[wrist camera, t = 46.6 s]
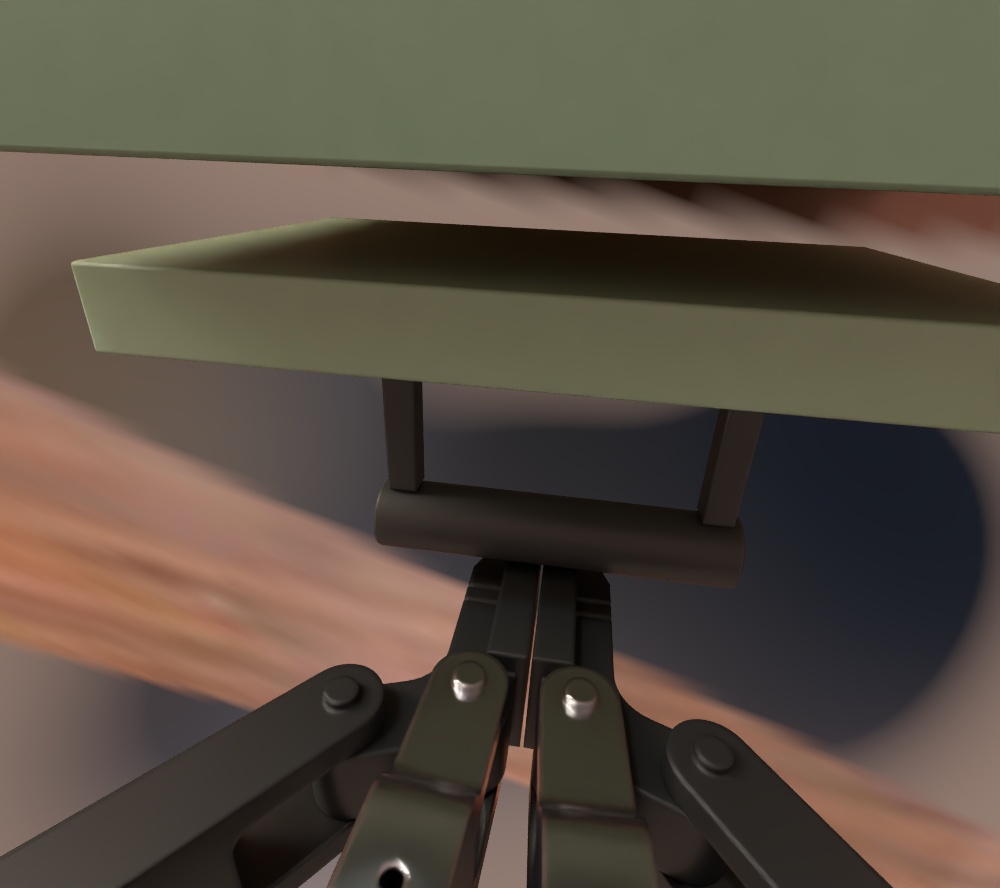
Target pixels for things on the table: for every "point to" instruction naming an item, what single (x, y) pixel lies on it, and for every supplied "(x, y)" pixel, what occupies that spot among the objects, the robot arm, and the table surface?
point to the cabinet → (521, 87)
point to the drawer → (569, 354)
